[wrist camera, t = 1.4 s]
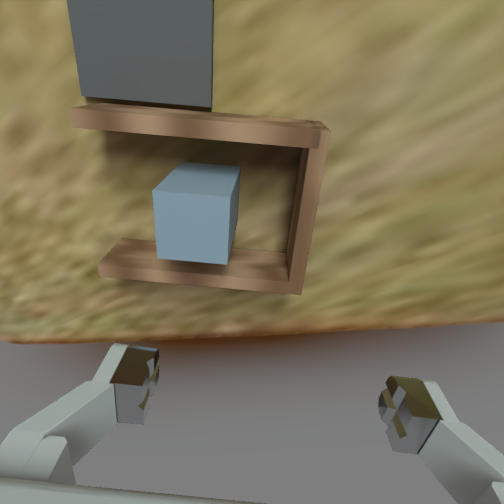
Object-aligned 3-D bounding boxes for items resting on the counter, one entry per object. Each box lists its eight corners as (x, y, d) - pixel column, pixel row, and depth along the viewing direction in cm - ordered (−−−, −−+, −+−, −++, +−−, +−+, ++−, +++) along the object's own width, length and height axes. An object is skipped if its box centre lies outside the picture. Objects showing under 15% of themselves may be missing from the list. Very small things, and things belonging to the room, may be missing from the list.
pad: (214, -64, 21) (213, -68, 20) (212, 106, 26) (210, 107, 25) (59, -77, 21) (54, -81, 20) (85, 95, 26) (81, 96, 25)
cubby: (320, 121, 26) (330, 130, 21) (297, 264, 32) (301, 295, 28) (103, 102, 26) (70, 108, 22) (122, 249, 32) (99, 276, 28)
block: (240, 166, 28) (230, 197, 21) (237, 220, 30) (227, 264, 23) (182, 161, 28) (152, 190, 21) (183, 215, 30) (157, 258, 23)
